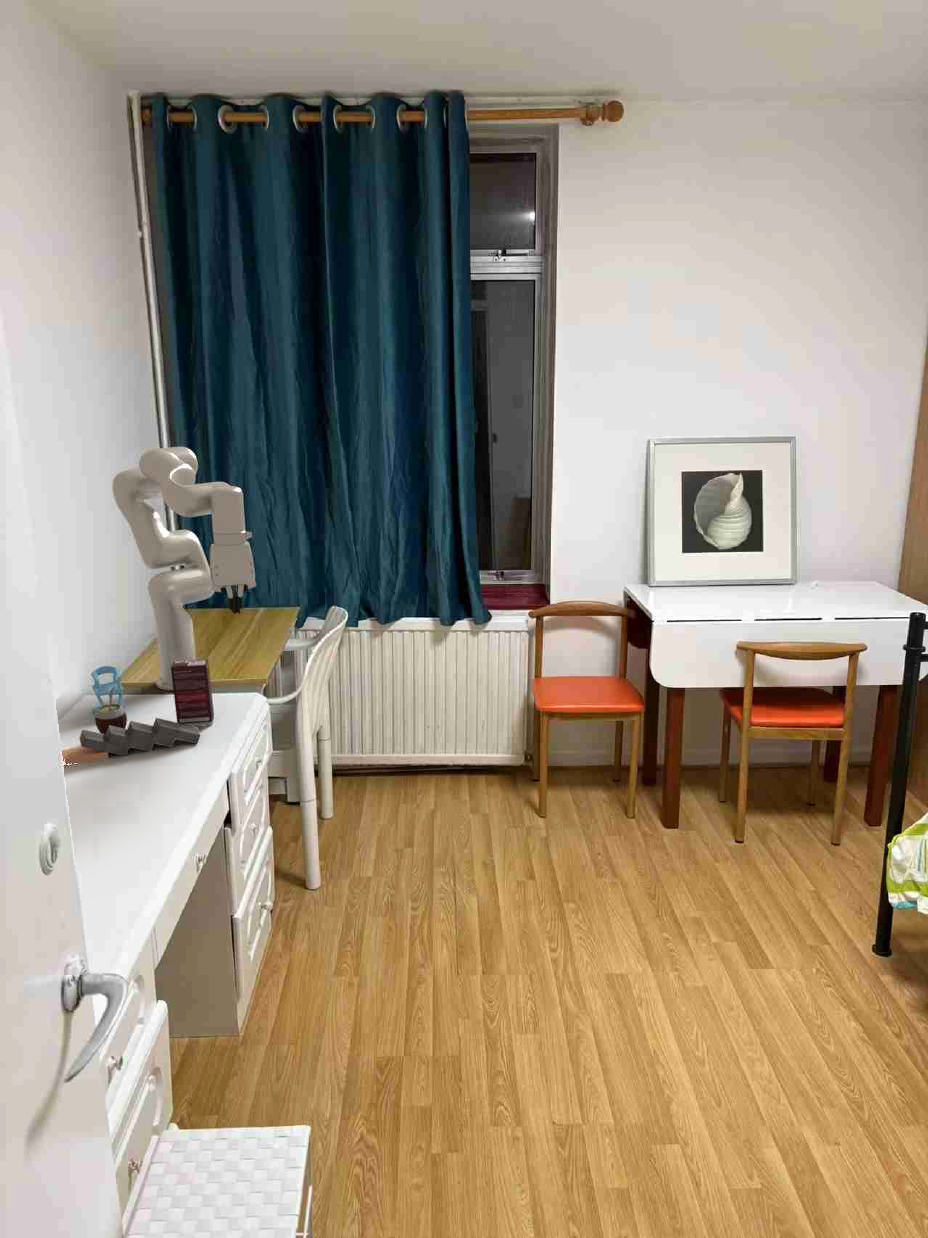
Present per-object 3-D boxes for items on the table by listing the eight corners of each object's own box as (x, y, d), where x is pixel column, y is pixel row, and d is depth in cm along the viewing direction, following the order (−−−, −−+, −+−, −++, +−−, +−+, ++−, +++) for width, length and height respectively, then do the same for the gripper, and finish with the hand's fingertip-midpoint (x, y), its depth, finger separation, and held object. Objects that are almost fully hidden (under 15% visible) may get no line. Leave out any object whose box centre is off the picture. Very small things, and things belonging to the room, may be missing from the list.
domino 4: (193, 735, 230) (152, 726, 225) (197, 727, 230) (156, 717, 225) (197, 743, 226) (155, 734, 221) (200, 735, 226) (158, 725, 221)
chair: (98, 722, 239) (92, 677, 236) (92, 710, 246) (86, 666, 242) (130, 715, 243) (125, 671, 239) (123, 704, 250) (118, 661, 246)
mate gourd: (108, 732, 233) (101, 674, 228) (138, 734, 231) (131, 676, 227) (90, 744, 226) (83, 685, 221) (121, 747, 224) (114, 687, 220)
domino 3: (169, 739, 228) (127, 729, 223) (172, 730, 228) (130, 720, 223) (171, 747, 224) (128, 737, 219) (175, 738, 223) (132, 728, 219)
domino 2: (148, 743, 226) (105, 733, 222) (151, 735, 226) (109, 725, 221) (151, 751, 222) (107, 742, 217) (154, 743, 222) (110, 733, 217)
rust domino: (107, 752, 223) (61, 759, 219) (106, 743, 222) (59, 750, 219) (108, 760, 218) (61, 768, 215) (107, 751, 218) (60, 759, 214)
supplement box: (214, 718, 241) (209, 658, 236) (212, 725, 236) (207, 664, 232) (179, 720, 240) (173, 660, 235) (176, 727, 235) (170, 666, 230)
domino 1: (123, 747, 224) (79, 738, 219) (126, 738, 224) (82, 729, 219) (125, 755, 220) (81, 746, 215) (129, 747, 220) (84, 738, 214)
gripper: (258, 532, 235) (263, 604, 241) (195, 538, 230) (202, 611, 235) (264, 538, 229) (269, 612, 234) (200, 544, 223) (207, 620, 229)
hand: (235, 612), depth 235 cm, fingers closed
